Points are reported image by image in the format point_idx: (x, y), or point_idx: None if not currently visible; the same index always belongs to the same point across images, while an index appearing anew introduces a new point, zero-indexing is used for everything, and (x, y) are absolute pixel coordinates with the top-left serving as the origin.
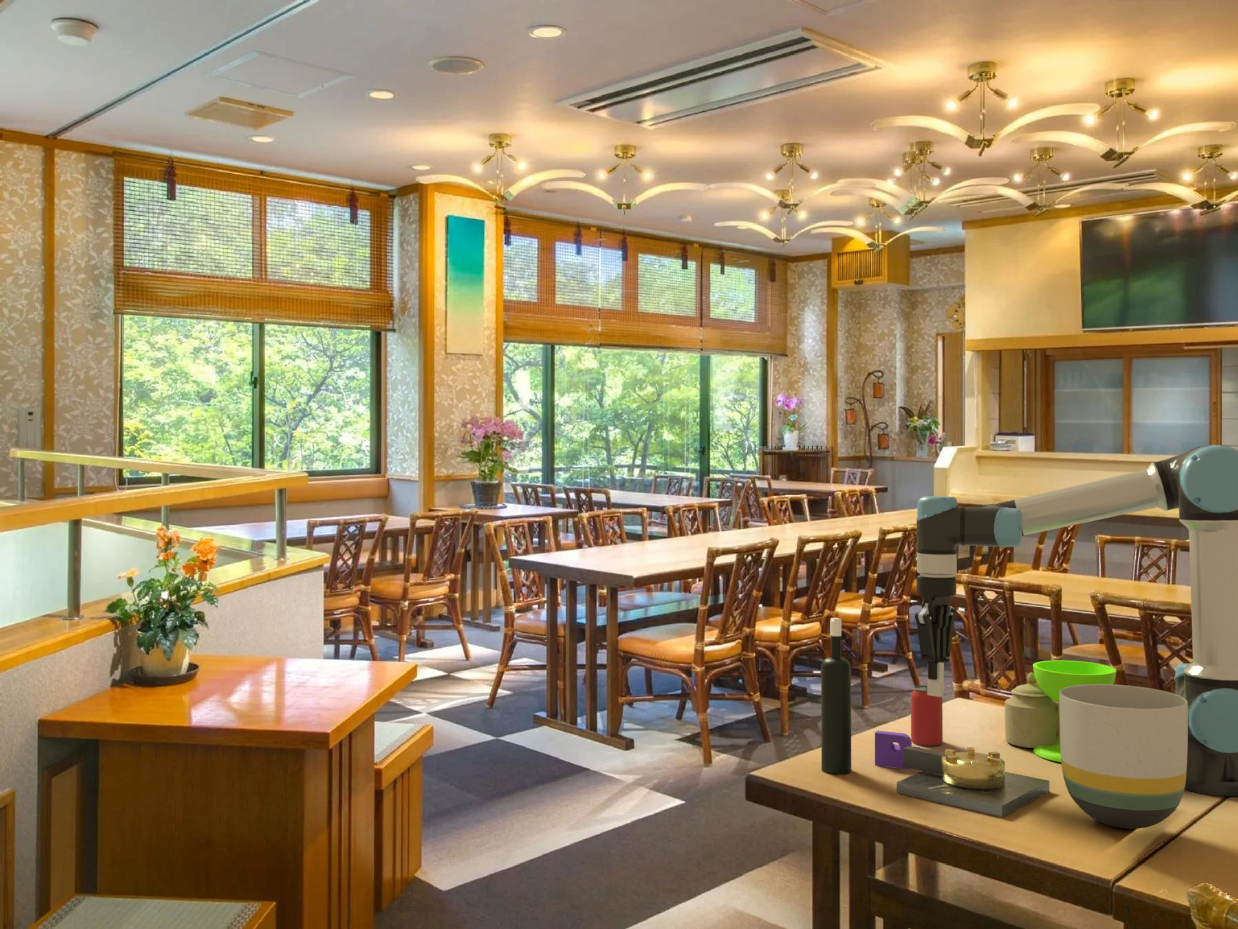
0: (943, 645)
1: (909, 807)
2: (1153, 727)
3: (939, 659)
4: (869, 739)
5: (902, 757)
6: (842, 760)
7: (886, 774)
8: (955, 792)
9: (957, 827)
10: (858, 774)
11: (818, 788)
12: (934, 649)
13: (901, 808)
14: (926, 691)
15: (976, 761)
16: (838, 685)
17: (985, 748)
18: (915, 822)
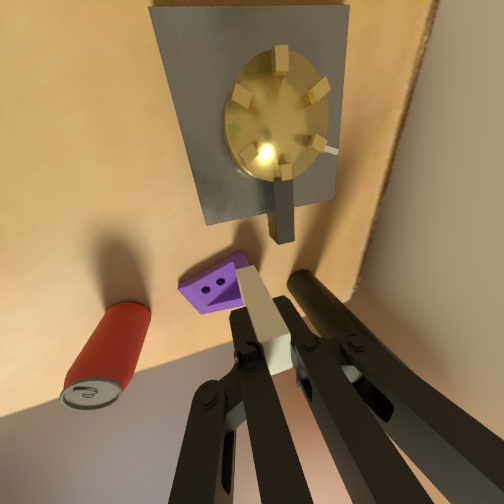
0: (292, 448)
1: (361, 153)
2: None
3: (299, 350)
4: (182, 346)
5: (248, 262)
6: (314, 277)
7: (276, 250)
8: (330, 115)
9: (399, 54)
10: (295, 263)
11: (354, 251)
12: (391, 389)
13: (368, 157)
14: (111, 380)
15: (321, 85)
16: (389, 349)
17: (54, 267)
18: (402, 111)
